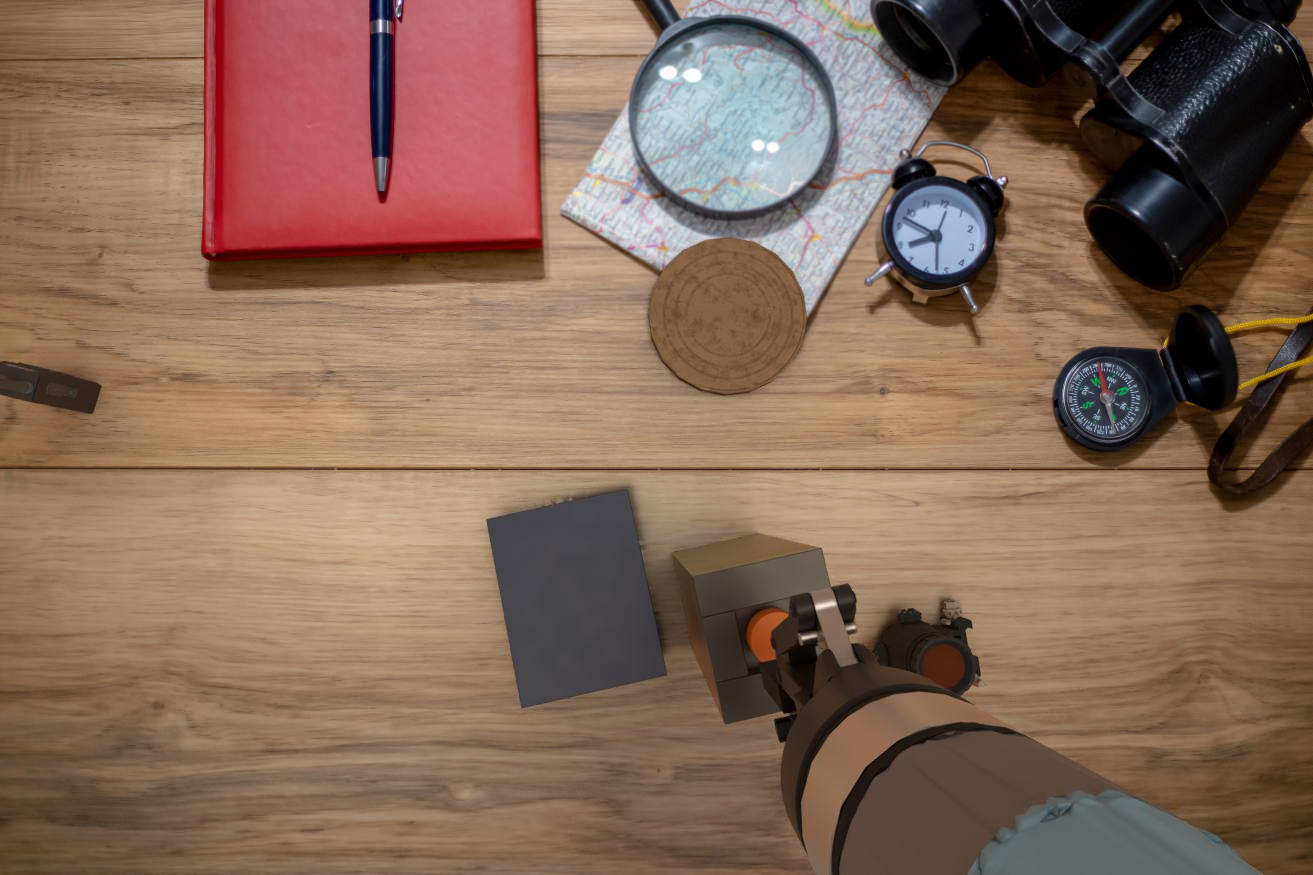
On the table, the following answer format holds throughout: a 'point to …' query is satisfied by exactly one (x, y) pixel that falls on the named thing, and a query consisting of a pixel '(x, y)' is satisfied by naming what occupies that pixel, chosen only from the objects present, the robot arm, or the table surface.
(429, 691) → the table surface
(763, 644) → the button
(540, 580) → the lid
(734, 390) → the brown round disc
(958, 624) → the red dot sight
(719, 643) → the button post
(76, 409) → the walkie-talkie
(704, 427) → the table surface
